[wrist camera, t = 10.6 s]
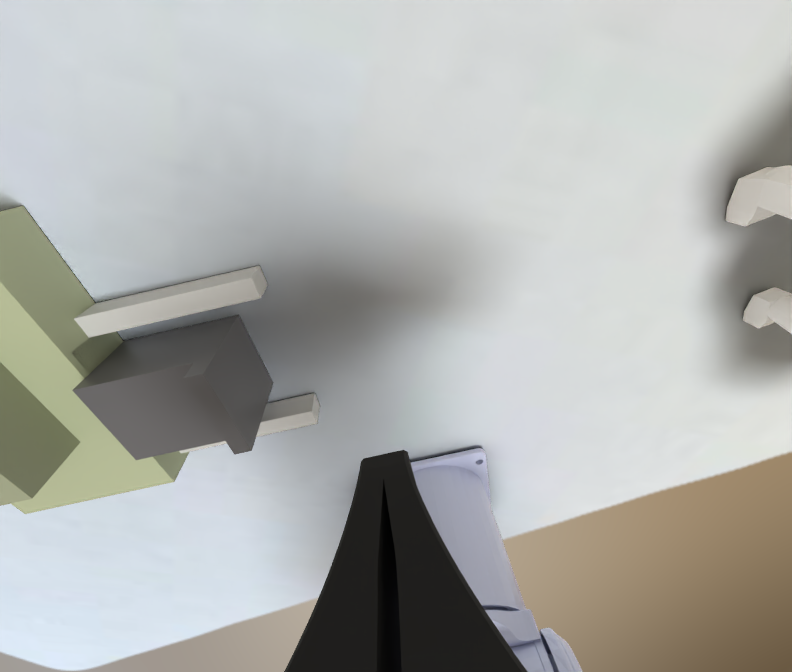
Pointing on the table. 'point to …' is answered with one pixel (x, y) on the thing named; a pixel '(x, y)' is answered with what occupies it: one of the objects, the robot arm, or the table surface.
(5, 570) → the table surface
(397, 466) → the robot arm
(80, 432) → the green post base
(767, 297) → the cat figurine
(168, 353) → the grey overhanging lid block
